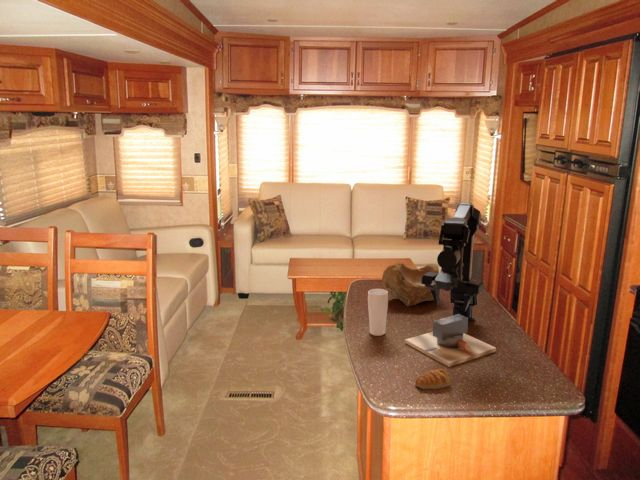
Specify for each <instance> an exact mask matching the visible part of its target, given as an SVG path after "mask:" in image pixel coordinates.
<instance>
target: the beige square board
mask: <svg viewBox="0 0 640 480" xmlns="http://www.w3.org/2000/svg"><path fill="white" fill-rule="evenodd" d="M463 341H465V342H467V343H468V347H467V349H465V350H464V349H462V348H460V347H458V348H446V347H443V346H440V345H439V344H438V343H437V337H435V336H433V331H430V332H427V333H423V334H420V335H417V336H412V337H408V338H406V339H404V344H406V345H408V346H409V347H412V348H414V349H416V350H417V351H419V352H421V353H423V354H425V355H426V356H428V357H430V358H431V359H434V360H435V361H437V362H439V363H441V364H443V365H445V366H446V367H447V368H450V367H453V366H456V365H459V364H462V363H466V362H468V361H471V360H474V359H477V358H480V357H483V356H486V355H490V354H492V353H495V352H496V351H497V348H496V347H495V346H493V345H491V344H489V343H487V342H484V341H482V340H480V339H478V338H475V337H474V336H472V335H469V334H467V333H464V334H463Z"/></svg>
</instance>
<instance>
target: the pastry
mask: <svg viewBox="0 0 640 480" xmlns="http://www.w3.org/2000/svg"><path fill="white" fill-rule="evenodd" d="M450 379H451V378H450V377H449V374H448V372H447V371H446V370H445V369H443V368H439V367H438V368H437V369H431V370H427V371H426V372H424V373H422V374H421V375H419V376H418V377H417V378H416V379H415V384H414V385H415V386H416V387H417V388H420V389H422V390H437V389H444V388H447V387H449V386H450V385H451V380H450Z"/></svg>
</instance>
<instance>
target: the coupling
mask: <svg viewBox="0 0 640 480" xmlns="http://www.w3.org/2000/svg"><path fill="white" fill-rule="evenodd" d="M468 325H469V322H468V318H467V317H465V316H463V315H460V314H457V315H453V314H452V315H451V316H446V317H443V318H439V319H434V320H433V322H432V326H433V327H432V332H433V336H435V337H437V343H438V344H439V345H440V346H443V347H446V348H458V347H460V348H462V349H464V350H465V349H467V347H468V343H467V342H465V341H463V334H464V333H465V334H467V333H468V327H469V326H468Z"/></svg>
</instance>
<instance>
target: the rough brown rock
mask: <svg viewBox="0 0 640 480" xmlns="http://www.w3.org/2000/svg"><path fill="white" fill-rule="evenodd" d="M428 272H434V273H440V269H439V267H438V265H436V264H434V263H427V264H426V265H424V266H422V267H420V268H413V267H412V268H411V267H408V266H406V265H405V264H404V263H403V262H399V261H398V262H395V263H393V264H389V266H386V268H385V270H383V273H382V278H381V281H382V282H381V283H382V286H383V287H384V288H385V289H387V290H389V291H388V292H389V293H390V297H391V298H393V299H394V300H399V301H400V302H402V304H403V305H405V306H406V307H412V306H416V305H418V304H420V303H422V302H434V298H433V295H432V293H431V291H430V289H429V288H428V287H425V284H421V277H422V276H423V275H424V274H426V273H428Z"/></svg>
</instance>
